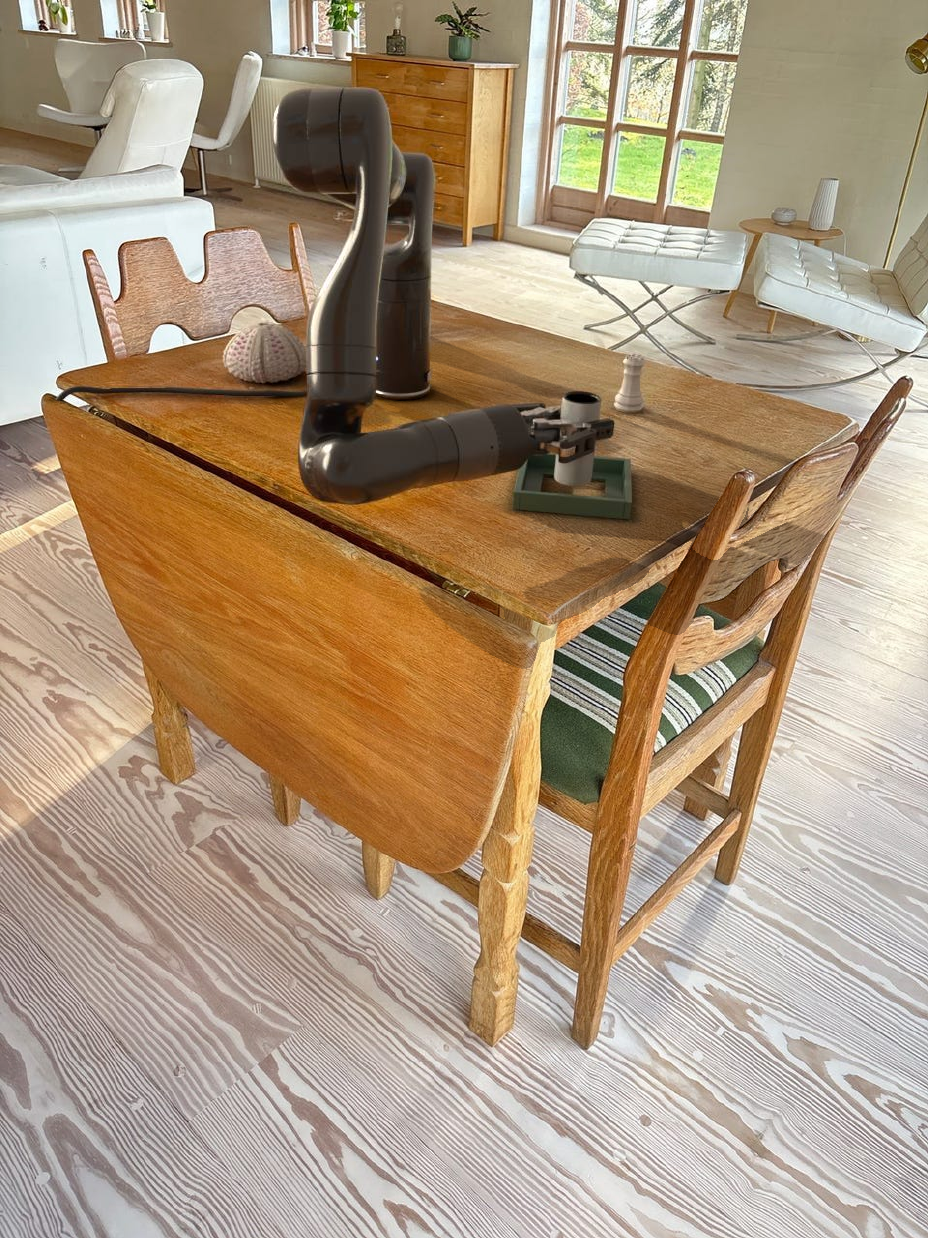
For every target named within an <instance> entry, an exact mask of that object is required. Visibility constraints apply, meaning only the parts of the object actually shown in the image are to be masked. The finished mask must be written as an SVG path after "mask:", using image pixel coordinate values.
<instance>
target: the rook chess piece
mask: <svg viewBox="0 0 928 1238" xmlns="http://www.w3.org/2000/svg"><path fill="white" fill-rule="evenodd" d="M644 358H645V357H644V355H642V354H640V353H638V354H637V356H636V353H633V352H632V353H627V354H625V358H624V359H623V361H622V363H623V365H624V370H623V371H622V372H623V380H622V383H621V387H620V389H619V390H618V393H617V394H616V395H615V397H614V400H615V402H614V403H613V406H614V408H615V410H617V411H618V412H622V413H626V414H633V413H634V414H635V413H640V412H641V411H642V410H643V409H644V405H643V403H644V402H645V400H644V397H643V393H642V391H641V377H642V374H643V372H642V369H643V367H644V366H645V364H646V362H645V360H644Z"/></svg>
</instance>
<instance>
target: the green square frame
mask: <svg viewBox="0 0 928 1238" xmlns="http://www.w3.org/2000/svg"><path fill="white" fill-rule="evenodd" d="M555 462H556V454H554V453H552V452H550V453H548V454H545V455H531V456H530V457H529V458H528V459H527V461H526V462H525V464H524V465H523V466H522V467H521V468H520V469H518V470H517V475H516V480H515V485H514V489H513V495H512V496H513V497H512V510H516V511H529V512H539V513H541V512H542V513H549V514H561V515H562V514H563V515H574V516H585V517H596V518H607V519H608V518H609V519H617V520H629V521H630V520H631V513H632V507H633V490H632V488H633V487H632V461H631V458H624V457H615V456H614V457H611V456H599V455H595V456H594V463H593V471H592V478H591V481H593V482H604V484H605V487H604V497H602V496H593V495H592V496H591V495H582V494H581V495H579V494H568V493H556V492H547V491H542V485H543V480H544V477H546V478H554V471H555Z"/></svg>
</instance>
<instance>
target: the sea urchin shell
mask: <svg viewBox="0 0 928 1238" xmlns="http://www.w3.org/2000/svg"><path fill="white" fill-rule="evenodd" d="M222 352H223V355H222V356H221V357H222V358H223V359H222V363H223V364H224V368H225V369H227V371H228V373H230V374H232V375H233V376H234V378H239V379H240V380H243V381H245V382H246V381H247V382H249V383H251V382H255V383H257V384H260V383H262V384H265V383H271V384H274V383H278V382H281V381H282V382H284V381H288V380H290V379H291V378H292V379H293V378H295V377H297V376H298V375H301V374H302V373H303V372H304V371H305V370H306V346H305V345H304V343H303V342H302V341H301V340H300V338H299V336H297V335H296V334H295V332H294V331H291V330H290V328H287V327H285V326H283V325H281V324H278V323H273V322H267V321H265V322H258V323H253V324H249V325H248V326H245V327H244V328H242V329H240V330H239V331H238V332H236V333H235V335H233V336H232V337H231V339H230V340H229V342H228V343H227V345H226V346H225V349H224V350H223V351H222Z"/></svg>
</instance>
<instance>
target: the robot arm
mask: <svg viewBox="0 0 928 1238" xmlns="http://www.w3.org/2000/svg"><path fill="white" fill-rule="evenodd" d="M271 145H272V150H273V154H274V158H275V161H276V164H277V166H278V169H279V171H280V173H281V174H282V177H283V179H284V180H285V181H286V183H288V184H289V186H290V187H291V188H292V189H294V190H296V191H297V192H299V193H302V194H310V195H311V194H314V195H316V194H317V195H318V194H321V195H324V196H326V197H329V198H330V199H332V200H335V201H336V202H339V203H341V204H342V205H343V206H345V207H347V208H349V209H352V210H354V213H353V219H352V223H351V226H350V228H349V229H350V230H349V232H348V235H347V238H346V239H345V242H344V244H343V246H342V249H341V250H340V253H339V254H338V256H337V258H336V260H335V262H334V264H333V265H332V267H331V268H330V270H329V272H328V274H327V275H326V277H325V279H324V281H323V283H322V284H321V286H320V288H319V290H318V292H317V294H316V295H315V297H314V300H313V302H312V305H311V307H310V310H309V314H308V318H307V324H306V332H305V347H306V368H305V370H306V387H307V390H305V391H304V390H303V391H287V390H276V389H275V390H273V389H267V390H266V389H263V390H261V389H260V390H250V389H249V390H245V389H221V388H219V389H216V388H199V387H197V388H196V387H180V386H164V387H165V388H110V389H102V388H103V387H96V386H95V387H94V386H87V385H86V386H85V385H75V386H71V387H68V388H66V389H64V390H63V391H61V392H60V393H59V394H58V395H57V397H56V398H55V400H56V401H63V400H65V398H67V397H69V396H70V395H72V394H75V393H76V394H77V393H88V394H98V395H109V394H128V393H130V394H134V393H136V394H137V393H138V394H139V393H140V394H141V393H143V394H144V393H146V394H147V393H150V394H151V393H156V394H158V393H159V394H184V395H201V396H222V397H249V398H250V397H278V398H279V397H280V398H295V397H296V398H298V397H306V400H305V404H304V409H303V414H302V421H301V427H300V432H299V438H298V439H299V440H298V449H297V463H298V471H299V477H300V480H301V482H302V485H303V486H304V488H305V490H306V491H307V492H308V493H309V495H311V496H312V497H313V498H315V499H316V500H318V501H320V502H324V503H329V504H340V505H347V506H349V505H350V506H357V505H364V504H365V505H366V504H370V503H374V502H379V501H381V500H382V501H383V500H385V499H388V498H391V497H394V496H397V495H399V494H402V493H406V492H407V491H410V490H414V489H422V488H428V487H433V486H437V485H442V484H447V483H453V482H455V483H456V482H468V481H472V480H478V479H482V478H487V477H491V476H497V475H502V474H506V473H511V472H514V471H519V469H520V468H521V467H522V466H523V465H524V464H525V462H526V461H527V459H528V458H529V457H530V456H531V455H545V454H548V453H550V452H552V453H554V454H557V455H559V457H558V462H559V463H563V464H565V463H569V462H571V461H574V460H576V459H578V458H581V457H583V456H585V455H588V454H590V453H592V452H594V448H595V441H596V442H598V441H602V440H607V439H610V438H613V436H614V431H615V420H614V419H611V418H609V417H607V418H601V419H599V420H596V421H591V422H586V423H571V422H570V421H569V420H567V419H564V420H560V415H561V407H560V408H559V407H558V406H554V405H552V406H548V407H546V403H545V402H527V403H510V404H508V403H501V404H495V405H489V406H483V407H478V408H471V409H466V410H459V411H455V412H451V413H448V414H444V415H443V416H439V417H433V418H428V419H422V420H417V421H410V422H406V423H403V424H399V425H398V426H396V427H394V428H389V429H382V430H375V431H367V432H366V431H365V432H362V426H363V425H362V424H363V417H364V413H365V412H366V410H367V409H369V408H370V407H371V406H372V405H373V404H374V402H375V400H376V397H379V398H383V399H388V400H402V401H403V400H414V399H419V398H423V397H425V396H427V395H428V394H430V392H431V378H433V368H431V326H432V325H431V323H432V322H431V321H432V253H433V252H432V246H433V245H432V244H433V242H432V241H433V223H434V221H433V220H434V206H435V192H436V190H435V189H436V174H435V172H436V171H435V166H434V163H433V160H432V158H431V157H430V155H428V154H426V153H423V152H422V153H420V152H404V151H401V149H400V147H399V146H398V144H397V143H396V141H395V140H394V139H393V132H392V122H391V117H390V111H389V107H388V105H387V102H386V100H385V97H384V96H383V94H382V93H381V92H380V91H379V90H378V89H376V88H372V87H362V86H360V87H357V86H353V87H348V86H347V87H314V88H313V87H302V88H299V89H295V90H291V91H289V92H287V93H286V94H285V95H284V96H282V97H281V99H280V100H279V102H278V103H277V106H276V108H275V110H274V114H273V117H272V123H271ZM387 225H396V226H397V225H398V226H408V227H409V230H408V234H406V236H405V237H403V238H402V239H400V240H398V241H397V242H395V243H393V244H390V245H387V246H385V245H386V244H385V243H386V234H387ZM559 428H563V431H562V439H561V440H560V442H559V439H560V429H559ZM573 431H580V432H578V433H576V434H573V435H572V432H573ZM595 449H596V448H595Z"/></svg>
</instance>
